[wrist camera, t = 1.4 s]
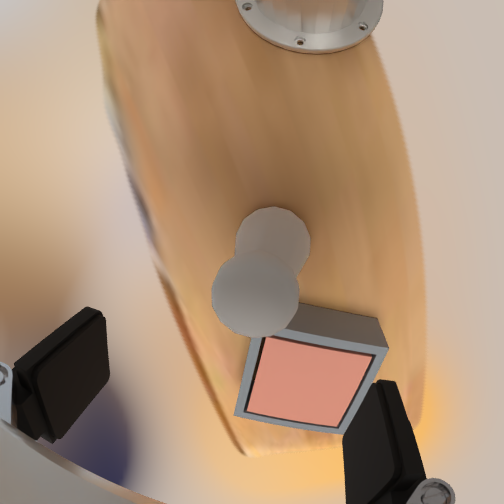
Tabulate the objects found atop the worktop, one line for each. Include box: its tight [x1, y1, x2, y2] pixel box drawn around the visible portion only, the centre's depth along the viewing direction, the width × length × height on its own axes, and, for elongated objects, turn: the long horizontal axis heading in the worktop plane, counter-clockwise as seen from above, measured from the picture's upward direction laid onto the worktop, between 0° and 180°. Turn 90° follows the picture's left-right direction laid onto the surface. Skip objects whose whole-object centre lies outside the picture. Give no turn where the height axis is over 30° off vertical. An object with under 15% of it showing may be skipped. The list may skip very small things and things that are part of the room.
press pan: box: [247, 335, 372, 427], centre depth 25 cm, size 9×9×1 cm
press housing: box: [234, 303, 389, 434], centre depth 27 cm, size 11×11×5 cm
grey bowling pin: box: [212, 206, 311, 338], centre depth 20 cm, size 6×6×13 cm
